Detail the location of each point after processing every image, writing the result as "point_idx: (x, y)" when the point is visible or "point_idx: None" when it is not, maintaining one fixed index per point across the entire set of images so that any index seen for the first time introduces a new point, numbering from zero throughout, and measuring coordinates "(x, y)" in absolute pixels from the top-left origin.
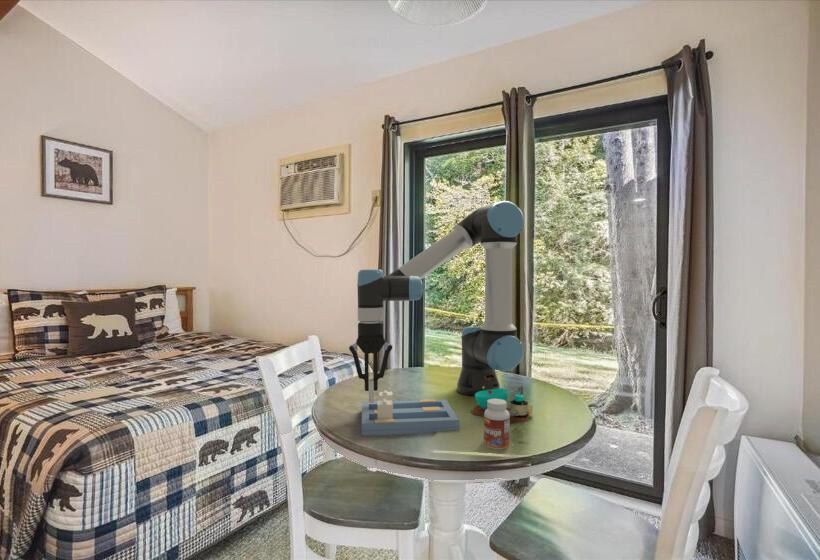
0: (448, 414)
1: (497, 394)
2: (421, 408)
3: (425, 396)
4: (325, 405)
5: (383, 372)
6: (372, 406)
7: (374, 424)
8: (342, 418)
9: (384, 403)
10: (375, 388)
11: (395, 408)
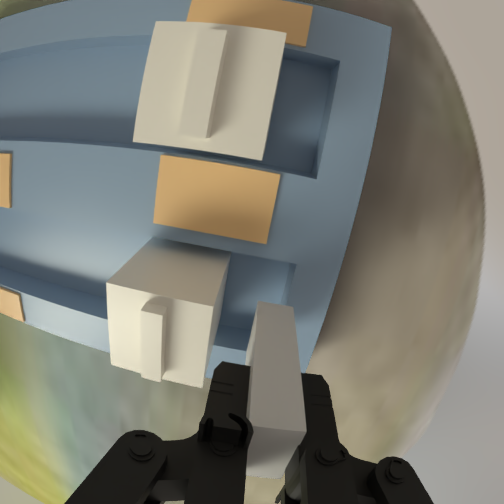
0: None
1: None
2: (14, 200)
3: (46, 413)
4: (395, 440)
5: (106, 474)
6: None
7: (315, 8)
8: (400, 309)
9: (220, 32)
10: (233, 376)
11: None
